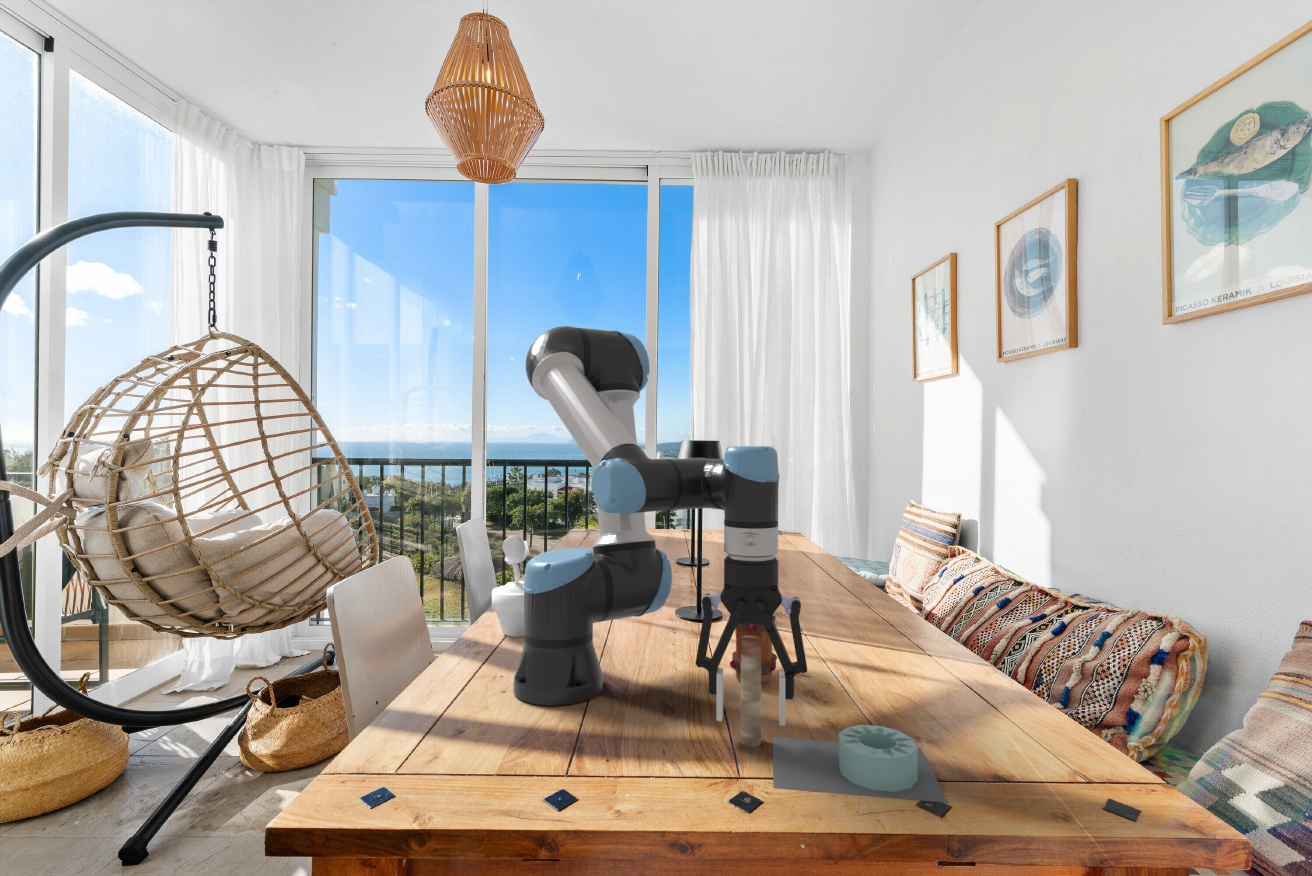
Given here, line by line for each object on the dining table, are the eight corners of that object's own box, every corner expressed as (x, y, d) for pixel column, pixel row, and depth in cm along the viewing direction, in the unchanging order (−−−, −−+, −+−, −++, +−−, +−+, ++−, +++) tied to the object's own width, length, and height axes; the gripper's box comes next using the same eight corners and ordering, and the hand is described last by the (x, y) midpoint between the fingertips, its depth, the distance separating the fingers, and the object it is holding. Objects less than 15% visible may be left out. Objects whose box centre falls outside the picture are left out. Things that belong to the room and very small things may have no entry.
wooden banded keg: (776, 691, 113) (776, 602, 114) (728, 687, 115) (728, 600, 115) (778, 663, 128) (778, 584, 128) (735, 660, 129) (735, 582, 129)
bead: (843, 787, 80) (843, 754, 80) (835, 752, 90) (835, 723, 90) (923, 794, 79) (923, 760, 79) (907, 758, 88) (907, 727, 88)
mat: (773, 792, 80) (773, 787, 80) (772, 741, 94) (772, 737, 94) (948, 807, 77) (948, 802, 77) (920, 752, 91) (920, 748, 91)
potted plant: (534, 642, 141) (535, 524, 141) (482, 639, 142) (483, 523, 143) (553, 626, 153) (553, 517, 153) (505, 623, 155) (505, 516, 155)
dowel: (740, 749, 92) (740, 640, 92) (741, 740, 94) (741, 635, 94) (760, 751, 91) (761, 641, 91) (761, 742, 94) (761, 636, 94)
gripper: (673, 558, 91) (673, 725, 91) (830, 563, 88) (829, 736, 87) (680, 549, 98) (680, 703, 98) (825, 553, 95) (825, 713, 95)
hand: (750, 719), depth 93 cm, fingers open, 8 cm apart
